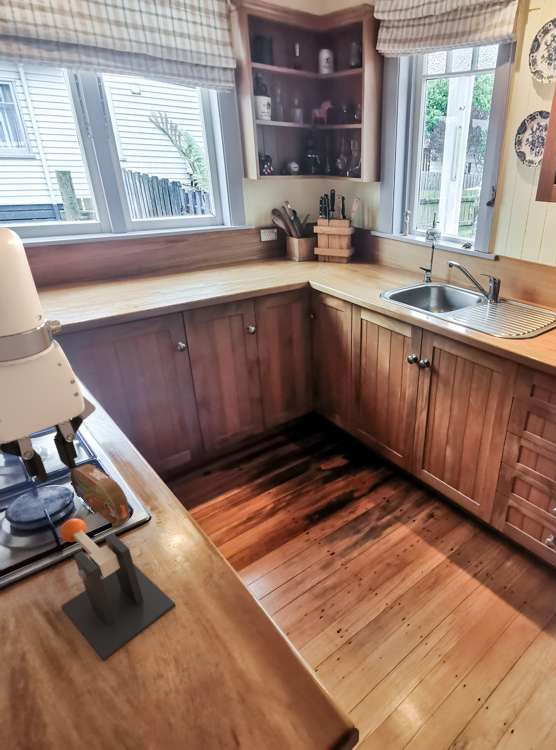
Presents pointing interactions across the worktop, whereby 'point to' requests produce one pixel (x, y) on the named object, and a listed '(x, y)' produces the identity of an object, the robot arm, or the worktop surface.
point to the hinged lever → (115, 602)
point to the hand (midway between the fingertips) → (54, 470)
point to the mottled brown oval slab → (100, 493)
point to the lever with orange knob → (90, 546)
